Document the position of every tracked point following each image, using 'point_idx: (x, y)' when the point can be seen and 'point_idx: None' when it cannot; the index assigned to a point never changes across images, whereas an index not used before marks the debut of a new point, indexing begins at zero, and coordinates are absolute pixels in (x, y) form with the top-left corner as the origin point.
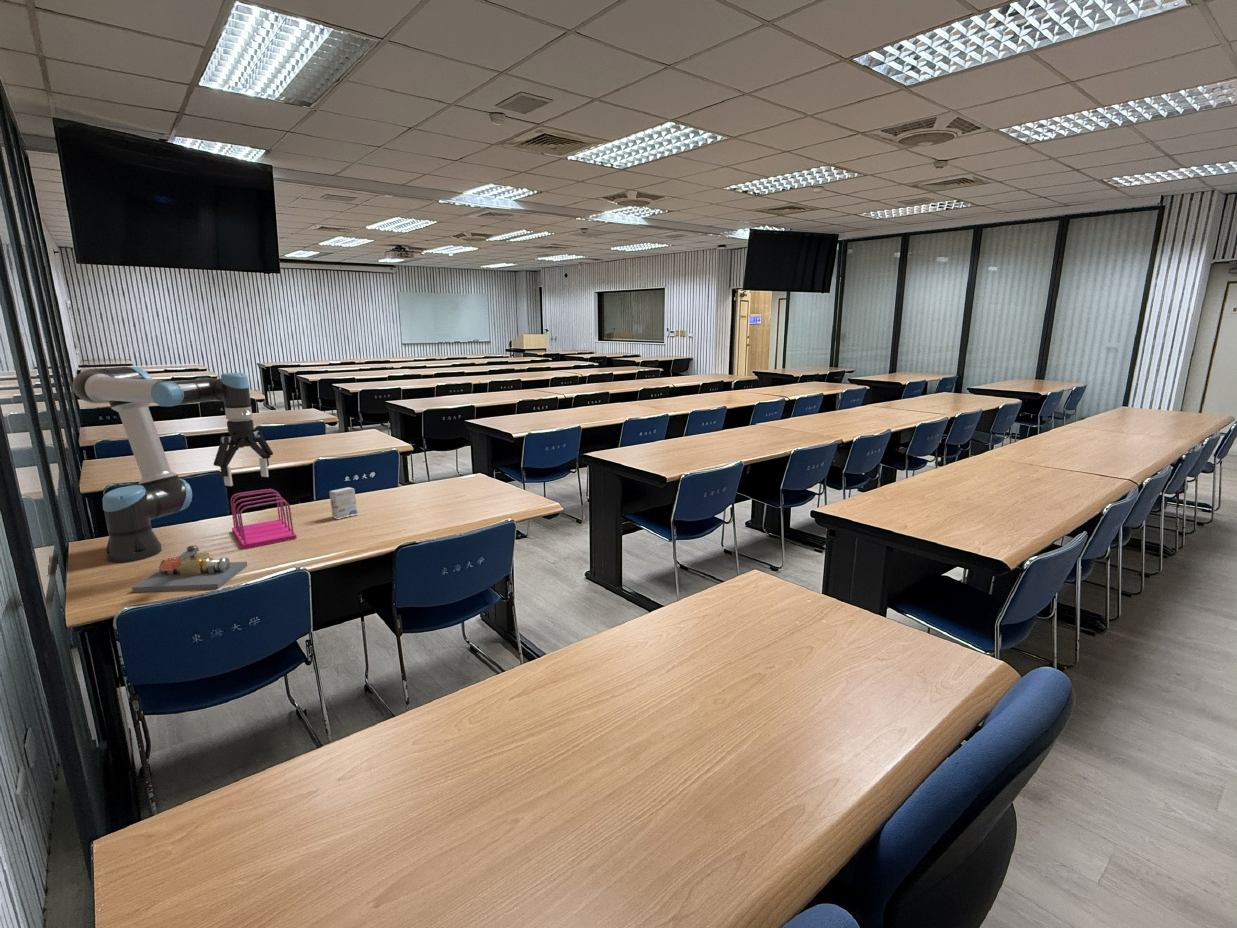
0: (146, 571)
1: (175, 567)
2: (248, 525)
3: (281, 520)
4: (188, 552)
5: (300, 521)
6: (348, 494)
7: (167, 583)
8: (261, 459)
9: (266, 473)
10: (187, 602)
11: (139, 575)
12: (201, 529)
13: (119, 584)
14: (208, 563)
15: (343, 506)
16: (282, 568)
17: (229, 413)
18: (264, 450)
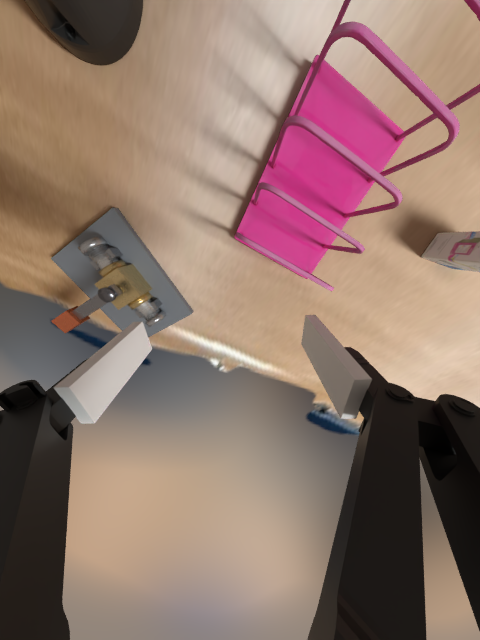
0: (85, 177)
1: (78, 325)
2: (342, 90)
3: (395, 147)
4: (99, 304)
5: (410, 180)
6: None
7: (92, 290)
8: (345, 391)
9: (307, 353)
10: (104, 344)
11: (73, 187)
12: None
13: (42, 201)
14: (136, 309)
15: (459, 265)
16: (210, 352)
17: None
18: (461, 452)
